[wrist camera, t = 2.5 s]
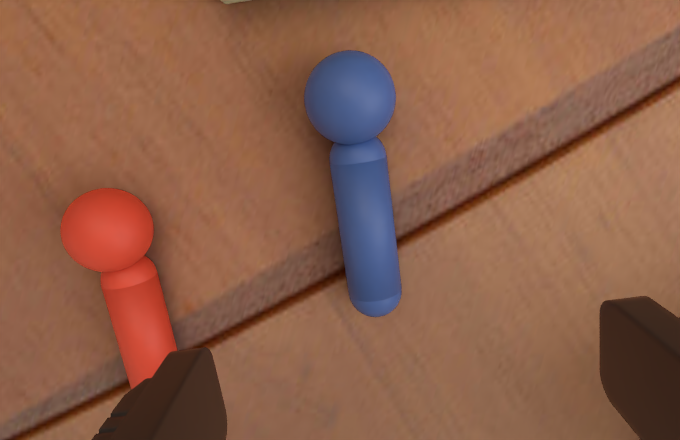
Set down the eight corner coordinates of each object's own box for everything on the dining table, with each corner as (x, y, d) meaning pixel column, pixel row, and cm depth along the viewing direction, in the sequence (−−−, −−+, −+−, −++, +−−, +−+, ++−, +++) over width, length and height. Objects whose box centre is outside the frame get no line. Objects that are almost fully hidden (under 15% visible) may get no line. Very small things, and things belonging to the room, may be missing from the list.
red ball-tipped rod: (208, 394, 25) (185, 443, 21) (141, 401, 25) (107, 451, 22) (155, 176, 22) (118, 192, 18) (79, 186, 22) (29, 205, 19)
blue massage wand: (413, 298, 23) (425, 335, 20) (339, 307, 23) (337, 345, 20) (386, 47, 20) (394, 39, 17) (302, 60, 20) (291, 54, 17)
